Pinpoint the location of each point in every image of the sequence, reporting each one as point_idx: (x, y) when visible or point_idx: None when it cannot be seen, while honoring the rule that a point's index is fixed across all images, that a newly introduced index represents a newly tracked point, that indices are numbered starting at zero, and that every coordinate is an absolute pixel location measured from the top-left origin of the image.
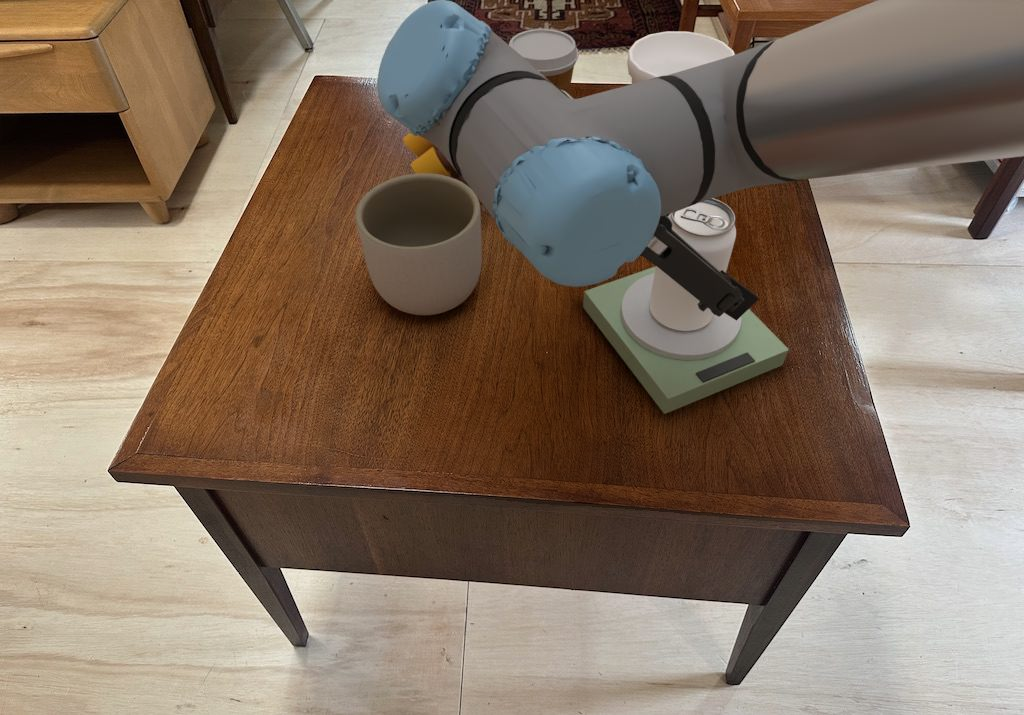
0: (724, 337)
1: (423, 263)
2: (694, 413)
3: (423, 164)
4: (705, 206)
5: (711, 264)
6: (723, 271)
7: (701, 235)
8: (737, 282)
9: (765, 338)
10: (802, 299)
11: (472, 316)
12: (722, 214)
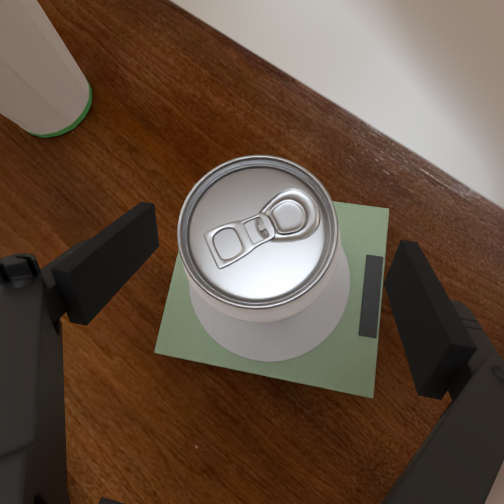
0: (338, 265)
1: None
2: (381, 357)
3: None
4: (228, 193)
5: (472, 396)
6: (458, 344)
7: (313, 286)
8: (444, 298)
9: (359, 218)
10: (314, 129)
11: (81, 492)
12: (274, 182)
